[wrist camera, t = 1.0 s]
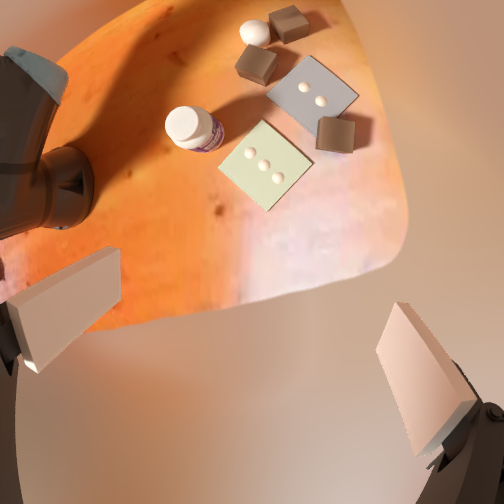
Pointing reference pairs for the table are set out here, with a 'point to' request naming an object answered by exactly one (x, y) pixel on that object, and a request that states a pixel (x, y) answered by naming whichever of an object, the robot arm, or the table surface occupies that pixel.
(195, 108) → the pill bottle
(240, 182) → the pad three
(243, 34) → the white cap
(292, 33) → the cube
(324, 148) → the cube
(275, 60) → the cube
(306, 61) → the pad two
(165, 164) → the table surface
